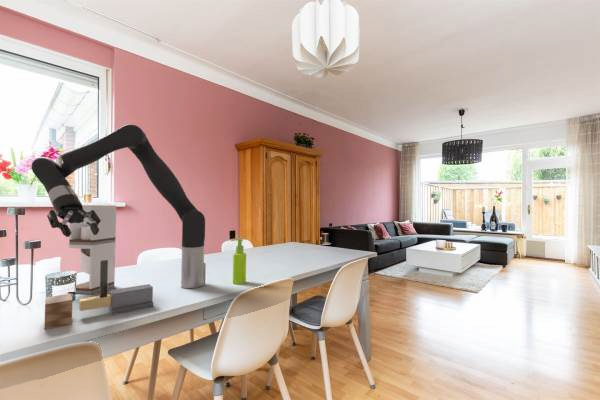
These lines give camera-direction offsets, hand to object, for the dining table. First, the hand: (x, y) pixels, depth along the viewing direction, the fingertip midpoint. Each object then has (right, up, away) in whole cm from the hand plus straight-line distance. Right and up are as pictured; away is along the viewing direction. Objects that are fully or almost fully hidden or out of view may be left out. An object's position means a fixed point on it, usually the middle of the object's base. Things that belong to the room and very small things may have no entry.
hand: (83, 234), depth 97 cm
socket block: (+2, -25, -13) cm, 28 cm away
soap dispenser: (+46, -26, +33) cm, 62 cm away
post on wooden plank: (+13, -23, -3) cm, 26 cm away
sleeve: (+16, -25, 0) cm, 30 cm away
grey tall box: (-13, -26, +21) cm, 36 cm away
